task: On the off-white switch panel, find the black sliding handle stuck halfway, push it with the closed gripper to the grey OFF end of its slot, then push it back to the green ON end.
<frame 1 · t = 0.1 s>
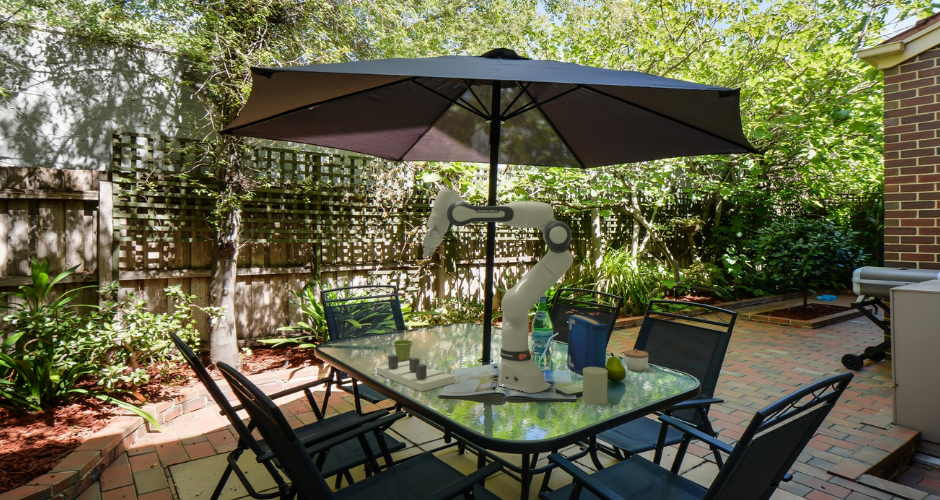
hand: (427, 256, 216), 52 cm above the table, tool tilted 20°, fingers open, 8 cm apart
switch 1: (393, 361, 222), point 6 cm above the table, slide at 8.0 cm
book: (586, 374, 227), on the table
can: (594, 400, 192), on the table
lidded jar: (635, 369, 234), on the table
switch 2: (421, 371, 208), point 6 cm above the table, slide at 8.0 cm
switch panel: (414, 378, 218), on the table
middle switch: (414, 364, 218), point 6 cm above the table, slide at 4.0 cm
plant pot: (402, 360, 248), on the table
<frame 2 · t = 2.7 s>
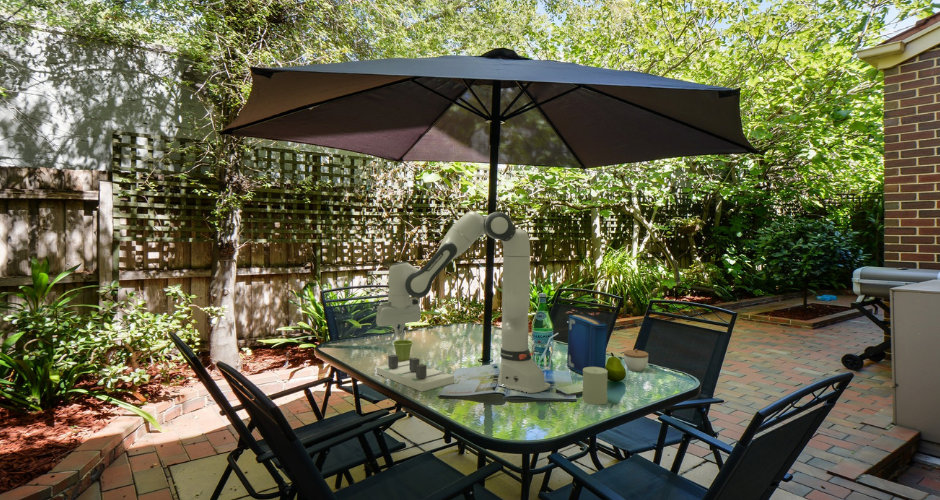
hand: (398, 334, 212), 20 cm above the table, tool pointing down, fingers closed
nothing on the table moved.
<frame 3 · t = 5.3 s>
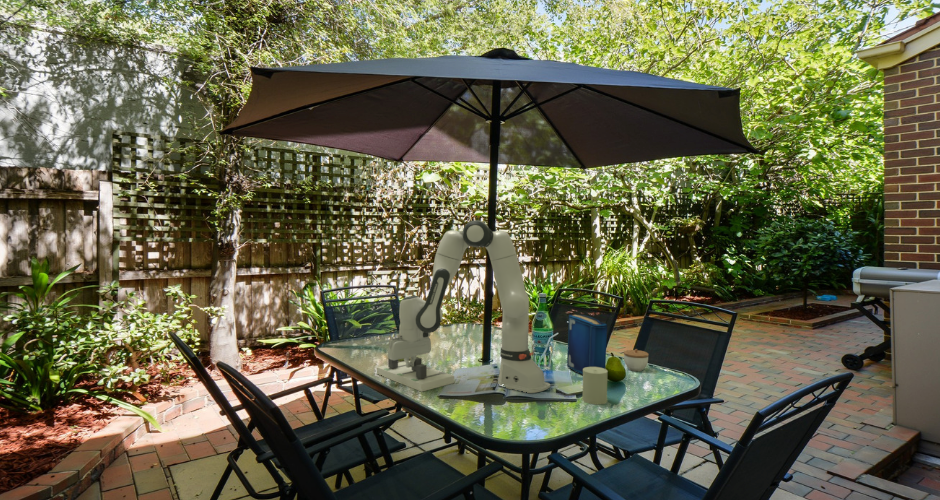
hand: (409, 366, 216), 5 cm above the table, tool pointing down, fingers closed
middle switch: (416, 364, 218), point 6 cm above the table, slide at 2.9 cm, touching gripper
everything else where it was.
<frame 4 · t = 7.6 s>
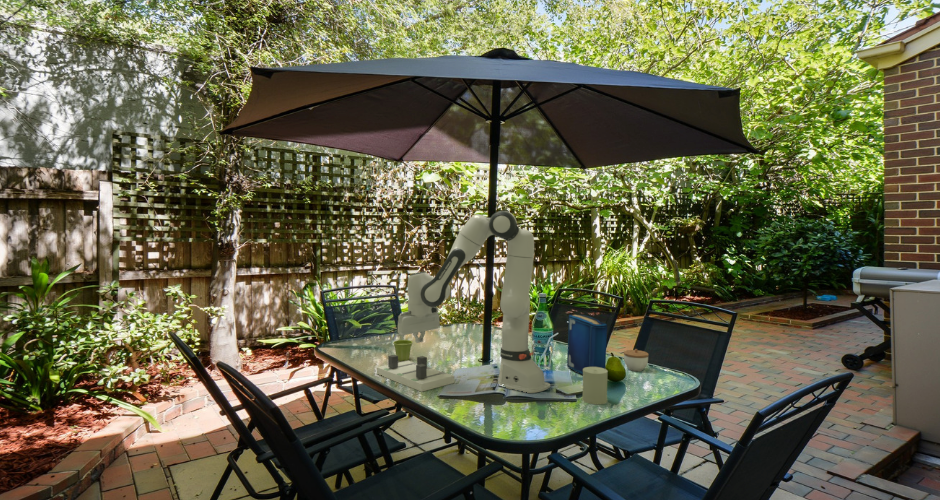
hand: (419, 342, 219), 15 cm above the table, tool pointing down, fingers closed
middle switch: (422, 362, 220), point 6 cm above the table, slide at -0.1 cm
everything else where it was.
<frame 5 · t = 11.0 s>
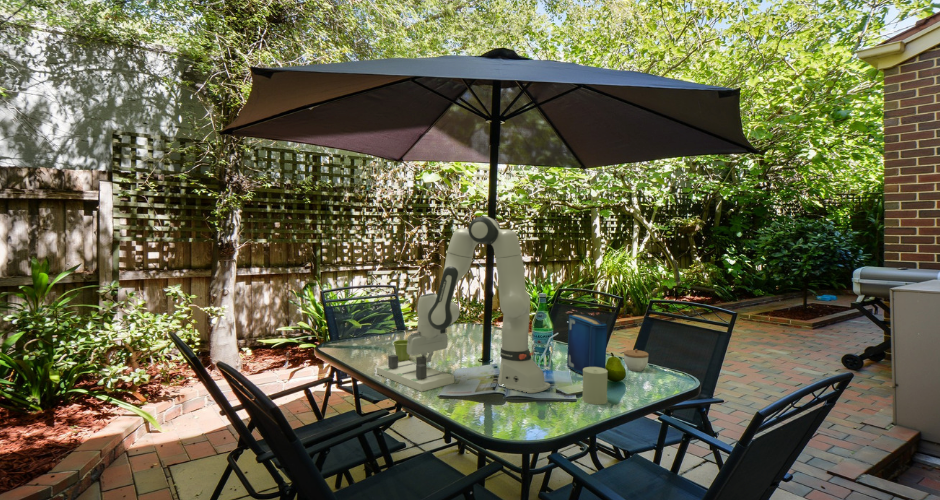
hand: (427, 362, 223), 6 cm above the table, tool pointing down, fingers closed
middle switch: (421, 363, 220), point 6 cm above the table, slide at 0.3 cm, touching gripper
everything else where it was.
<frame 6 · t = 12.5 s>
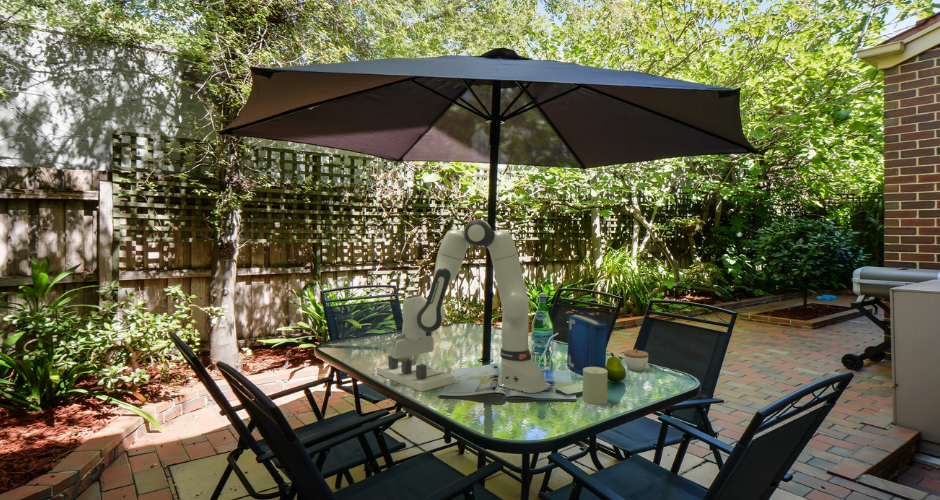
hand: (412, 365, 217), 6 cm above the table, tool pointing down, fingers closed
middle switch: (406, 366, 215), point 6 cm above the table, slide at 8.1 cm, touching gripper
everything else where it was.
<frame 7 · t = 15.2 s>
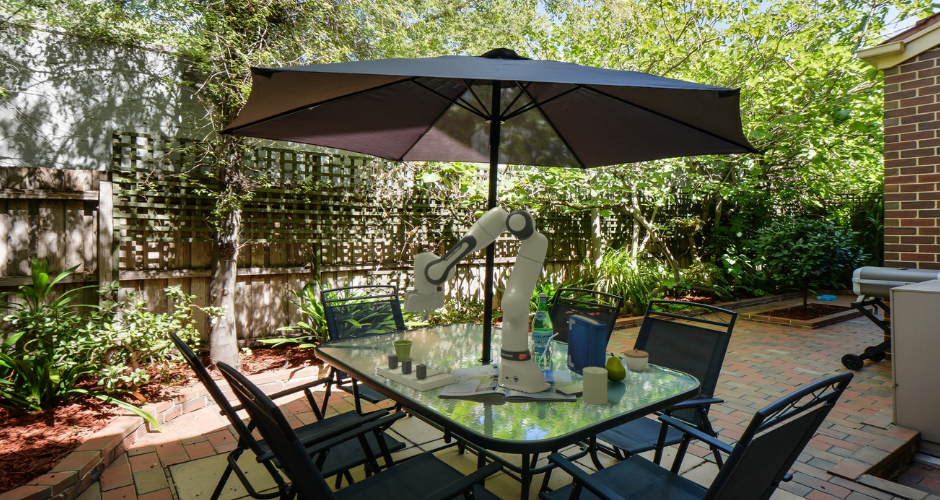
hand: (424, 320, 223), 24 cm above the table, tool pointing down, fingers closed
middle switch: (406, 366, 215), point 6 cm above the table, slide at 8.1 cm
everything else where it was.
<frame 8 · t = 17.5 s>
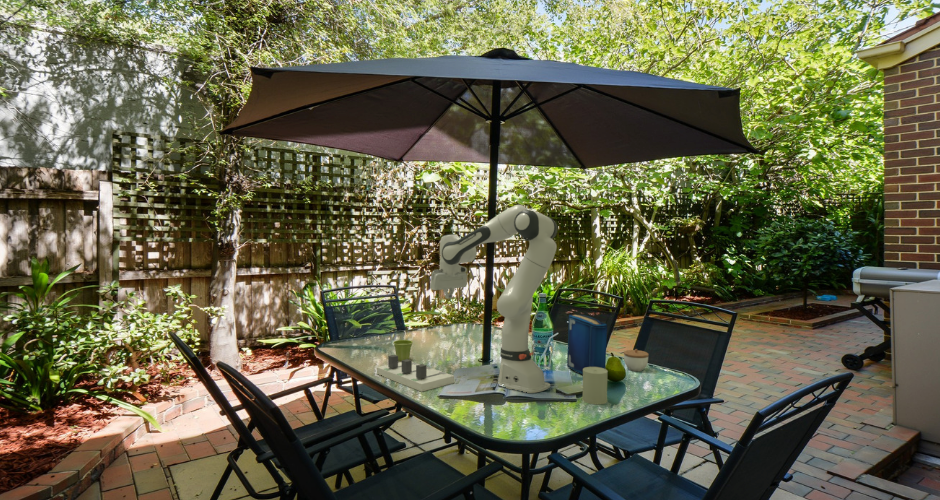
hand: (448, 298, 240), 31 cm above the table, tool pointing down, fingers closed
nothing on the table moved.
at the end: middle switch slide at 8.1 cm; switch 2 slide at 8.0 cm; switch 1 slide at 8.0 cm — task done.
